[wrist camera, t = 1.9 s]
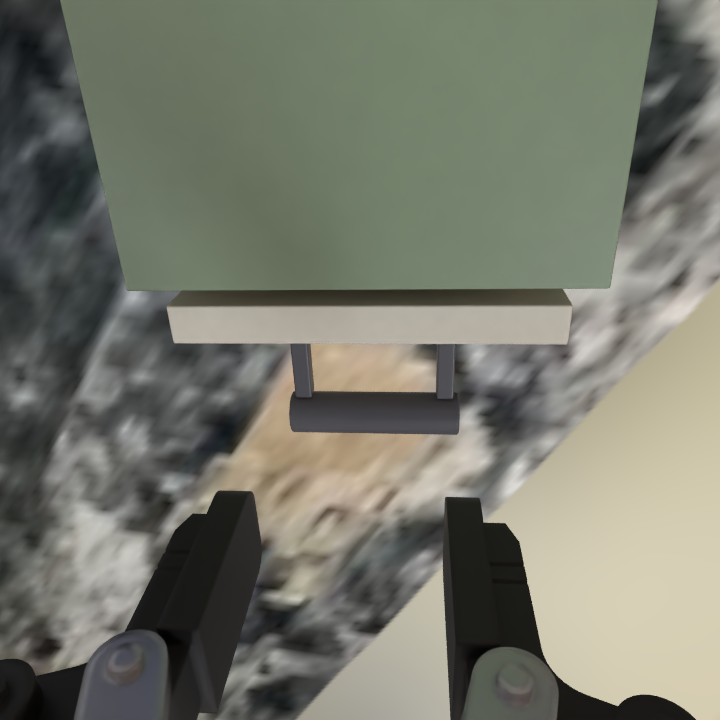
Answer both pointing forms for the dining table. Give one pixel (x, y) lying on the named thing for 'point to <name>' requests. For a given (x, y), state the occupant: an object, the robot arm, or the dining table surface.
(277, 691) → the dining table surface
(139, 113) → the cabinet
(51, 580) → the dining table surface
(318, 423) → the drawer
